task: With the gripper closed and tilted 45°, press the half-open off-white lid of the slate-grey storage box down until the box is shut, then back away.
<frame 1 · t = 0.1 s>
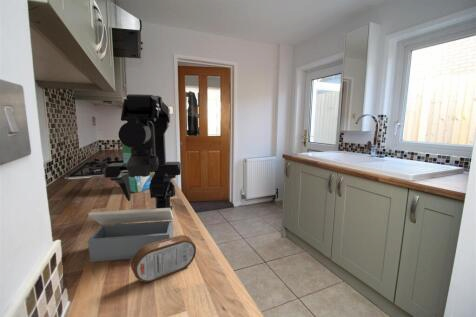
hand: (146, 199, 64), 15 cm above the countertop, tool pointing down, fingers open, 9 cm apart
milk carton: (138, 189, 121), on the countertop
tin: (166, 274, 56), on the countertop
storage box: (135, 249, 66), on the countertop
lid: (134, 216, 66), point 9 cm above the countertop, hinge at 40.0°
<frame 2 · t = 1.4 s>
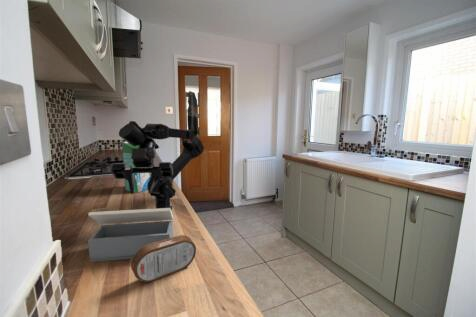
hand: (140, 193, 73), 14 cm above the countertop, tool tilted 45°, fingers open, 5 cm apart
nothing on the countertop moved.
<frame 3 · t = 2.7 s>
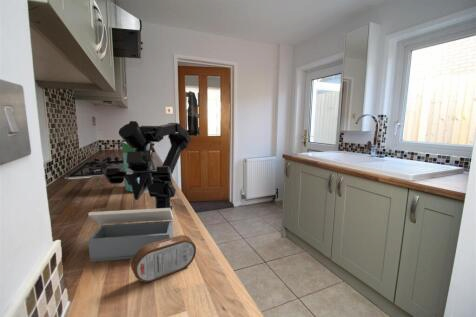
hand: (136, 199, 68), 13 cm above the countertop, tool tilted 45°, fingers closed
nothing on the countertop moved.
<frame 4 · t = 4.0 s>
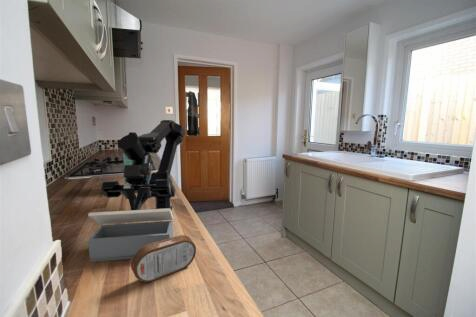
hand: (133, 215, 65), 10 cm above the countertop, tool tilted 45°, fingers closed, pressing on lid
lid: (134, 216, 66), point 9 cm above the countertop, hinge at 39.0°, touching gripper
everything else where it was.
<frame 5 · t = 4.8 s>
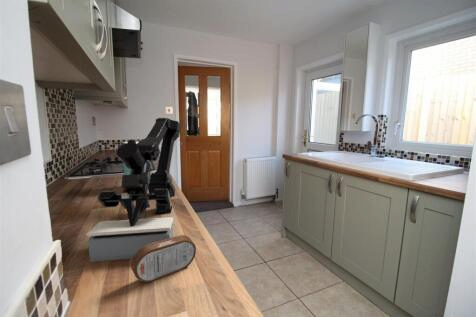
hand: (131, 226, 63), 8 cm above the countertop, tool tilted 45°, fingers closed, pressing on lid
lid: (133, 225, 65), point 7 cm above the countertop, hinge at 5.6°, touching gripper
everything else where it was.
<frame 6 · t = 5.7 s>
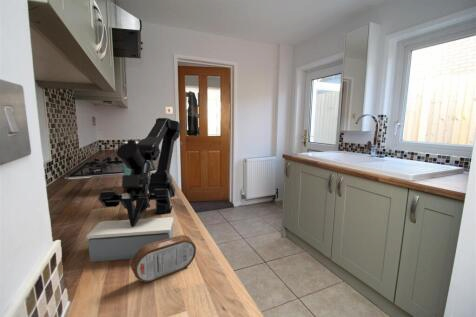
hand: (132, 226, 63), 8 cm above the countertop, tool tilted 45°, fingers closed
lid: (133, 226, 65), point 7 cm above the countertop, hinge at 1.7°
everything else where it was.
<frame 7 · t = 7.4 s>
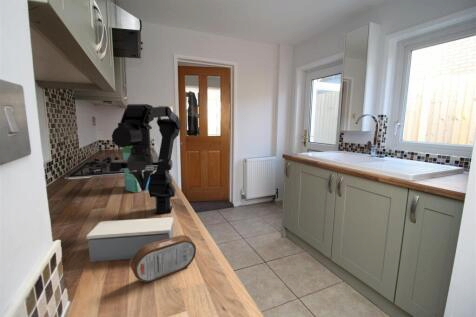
hand: (143, 190, 77), 13 cm above the countertop, tool pointing down, fingers closed
lid: (133, 227, 65), point 7 cm above the countertop, hinge at 1.3°
everything else where it was.
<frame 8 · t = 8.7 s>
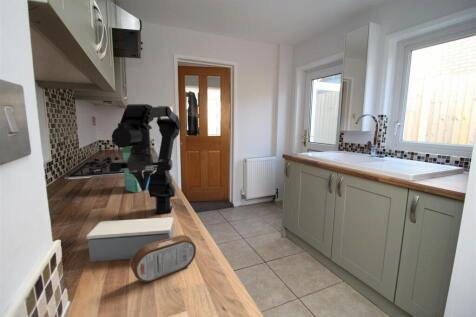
hand: (143, 190, 77), 13 cm above the countertop, tool pointing down, fingers closed
nothing on the countertop moved.
at the end: lid at +1° (first picture: +40°); tin moved 0.3 cm from its start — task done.
